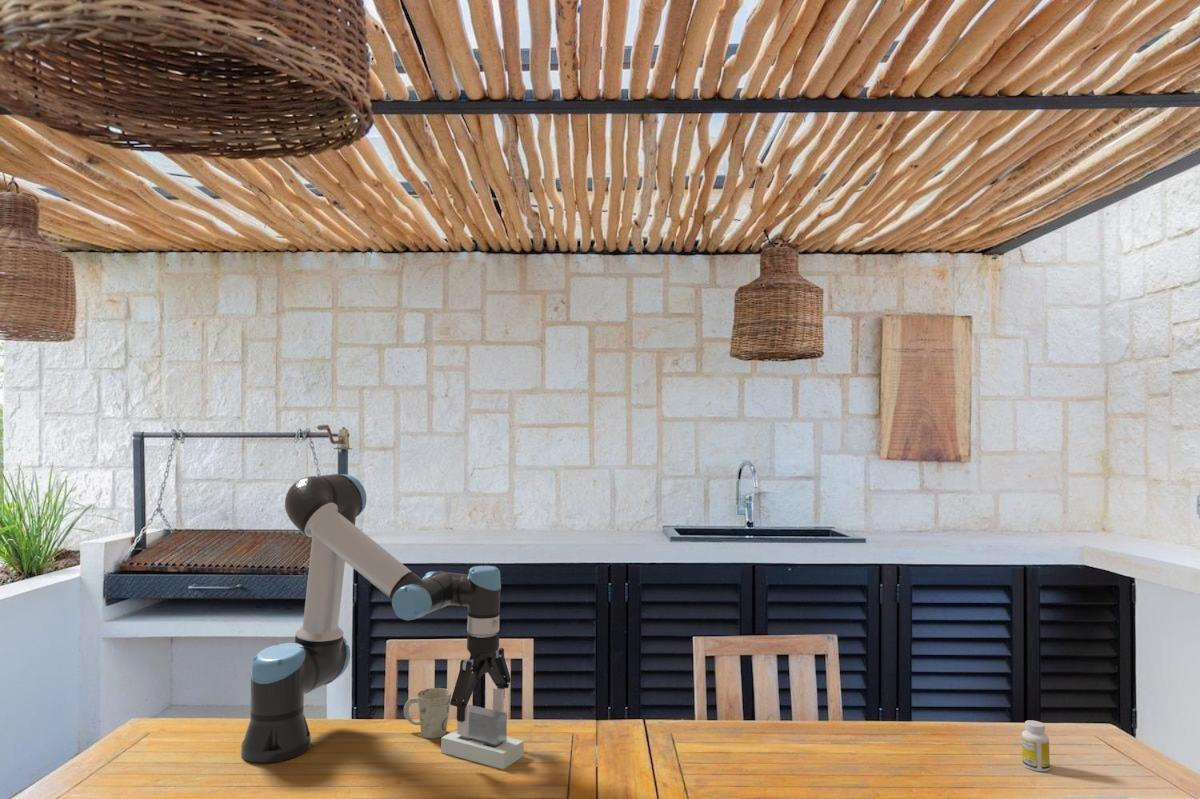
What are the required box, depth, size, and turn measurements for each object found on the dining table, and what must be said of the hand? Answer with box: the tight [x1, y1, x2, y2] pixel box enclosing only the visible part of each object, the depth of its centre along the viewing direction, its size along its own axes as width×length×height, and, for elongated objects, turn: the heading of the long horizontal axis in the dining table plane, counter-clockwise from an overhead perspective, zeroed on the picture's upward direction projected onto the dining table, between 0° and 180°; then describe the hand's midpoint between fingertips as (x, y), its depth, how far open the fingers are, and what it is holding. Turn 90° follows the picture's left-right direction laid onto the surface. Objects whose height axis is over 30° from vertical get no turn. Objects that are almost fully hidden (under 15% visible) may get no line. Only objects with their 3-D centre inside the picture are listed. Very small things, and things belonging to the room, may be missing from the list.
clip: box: [461, 704, 508, 748], centre depth 176 cm, size 11×4×10 cm, turn 61°
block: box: [440, 728, 525, 770], centre depth 176 cm, size 18×8×4 cm, turn 61°
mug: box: [403, 687, 452, 739], centre depth 188 cm, size 8×13×10 cm, turn 78°
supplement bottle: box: [1021, 719, 1051, 772], centre depth 171 cm, size 5×5×10 cm
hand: (481, 724), depth 176 cm, fingers open, 13 cm apart
